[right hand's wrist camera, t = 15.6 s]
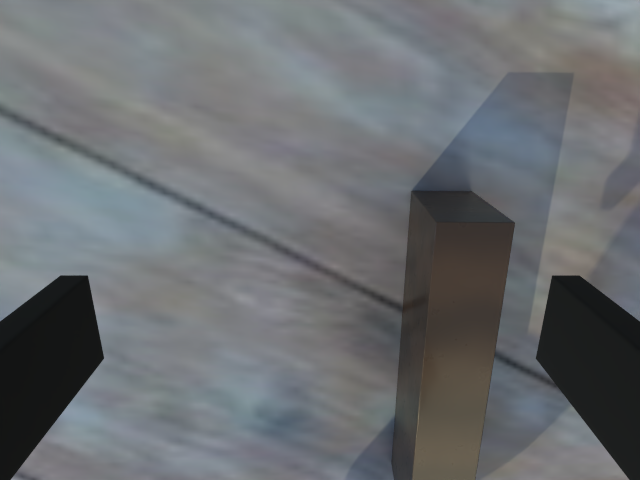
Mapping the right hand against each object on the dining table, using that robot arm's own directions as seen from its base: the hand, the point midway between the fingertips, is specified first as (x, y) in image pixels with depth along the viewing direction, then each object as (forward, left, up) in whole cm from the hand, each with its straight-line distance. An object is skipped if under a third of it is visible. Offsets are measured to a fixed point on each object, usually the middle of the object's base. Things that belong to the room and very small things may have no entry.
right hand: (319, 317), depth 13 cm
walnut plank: (+14, +9, -21) cm, 27 cm away
